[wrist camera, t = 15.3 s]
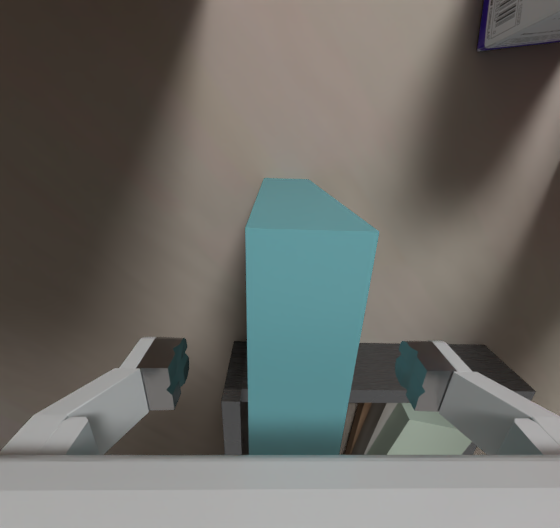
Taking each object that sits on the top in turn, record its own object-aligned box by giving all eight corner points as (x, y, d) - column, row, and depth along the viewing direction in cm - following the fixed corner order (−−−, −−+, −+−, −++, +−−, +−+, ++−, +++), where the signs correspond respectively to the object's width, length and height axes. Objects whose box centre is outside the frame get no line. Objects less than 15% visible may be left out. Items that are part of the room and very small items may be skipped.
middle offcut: (348, 460, 28) (352, 479, 26) (384, 372, 23) (392, 389, 22) (411, 466, 28) (420, 486, 27) (459, 382, 24) (472, 399, 22)
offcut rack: (239, 473, 30) (231, 546, 24) (234, 341, 23) (221, 401, 17) (433, 472, 30) (468, 543, 25) (484, 344, 24) (549, 403, 18)
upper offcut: (354, 473, 26) (360, 495, 24) (399, 399, 22) (409, 419, 21) (411, 483, 26) (420, 505, 25) (463, 413, 23) (478, 433, 21)
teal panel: (262, 317, 22) (249, 512, 10) (264, 177, 18) (245, 228, 6) (298, 317, 22) (328, 511, 10) (308, 179, 18) (379, 231, 6)
